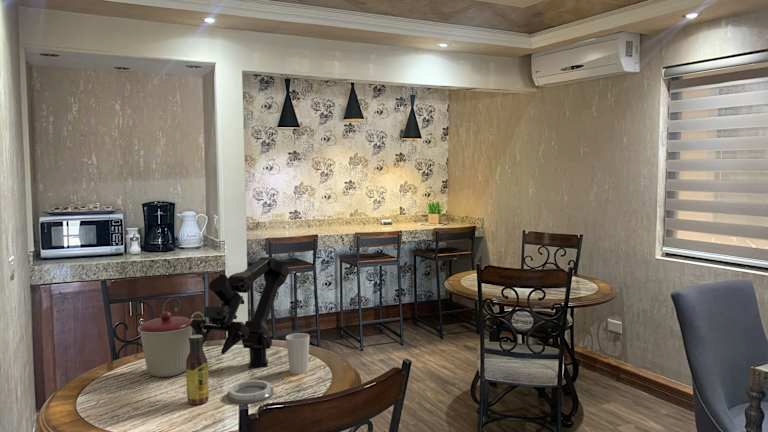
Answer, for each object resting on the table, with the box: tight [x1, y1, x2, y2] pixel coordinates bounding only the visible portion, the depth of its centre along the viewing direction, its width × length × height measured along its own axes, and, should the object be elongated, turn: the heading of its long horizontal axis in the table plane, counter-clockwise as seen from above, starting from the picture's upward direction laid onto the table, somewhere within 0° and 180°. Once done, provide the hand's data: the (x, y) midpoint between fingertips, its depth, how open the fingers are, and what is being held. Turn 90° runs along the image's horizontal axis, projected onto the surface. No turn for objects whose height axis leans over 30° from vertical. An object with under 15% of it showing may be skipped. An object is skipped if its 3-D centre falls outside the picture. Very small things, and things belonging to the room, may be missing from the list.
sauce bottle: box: [185, 334, 210, 406], centre depth 177 cm, size 7×6×20 cm
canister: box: [137, 311, 193, 378], centre depth 203 cm, size 18×18×21 cm
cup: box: [285, 332, 310, 375], centre depth 202 cm, size 8×8×12 cm
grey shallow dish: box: [226, 379, 275, 405], centre depth 182 cm, size 14×14×2 cm
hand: (209, 352), depth 183 cm, fingers open, 9 cm apart
